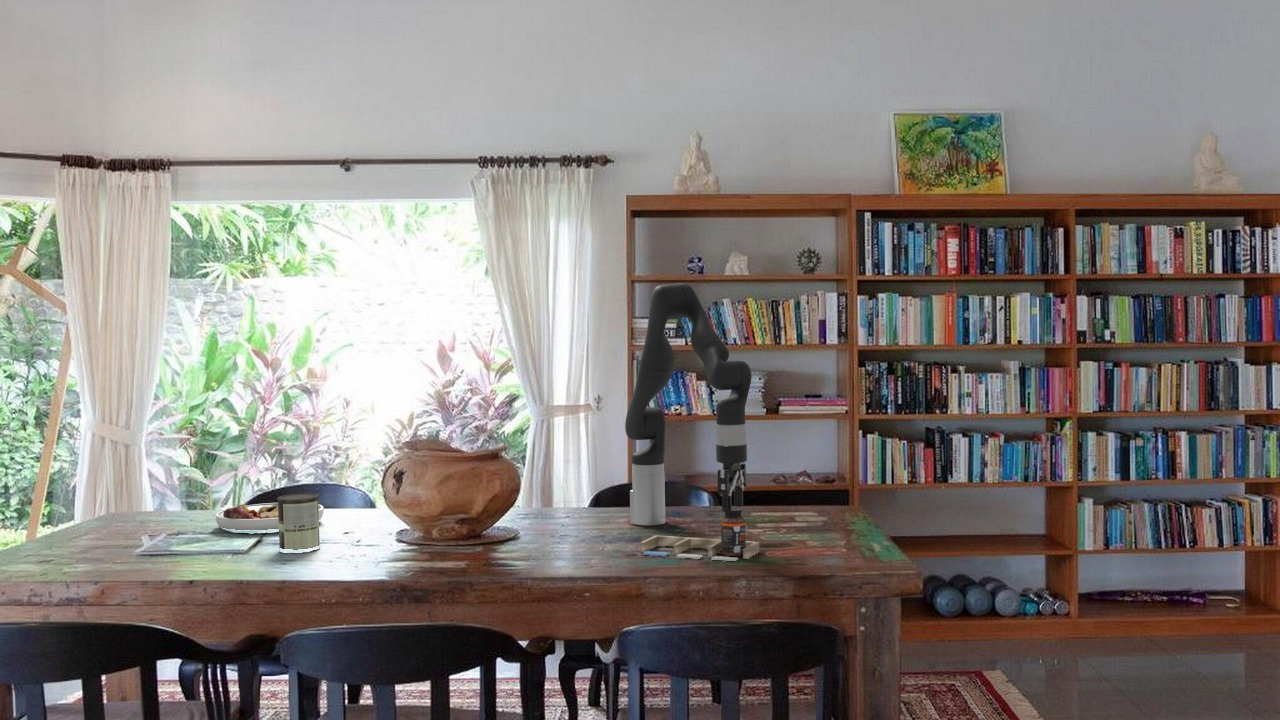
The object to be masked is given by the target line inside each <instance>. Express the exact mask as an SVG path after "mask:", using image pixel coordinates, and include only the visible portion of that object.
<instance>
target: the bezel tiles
mask: <svg viewBox="0 0 1280 720" xmlns="http://www.w3.org/2000/svg"><path fill="white" fill-rule="evenodd" d="M644 555H649V556H648V557H658V556H661V557H662V558H666V557H668V556H669V555H670V553H669V552H665V551H663V552H662V551H651V550H648V551H646V552H644V553H643V552H642V556H644ZM667 555H668V556H667ZM675 556H676V559H685V558H690V560H698V559H700V558H701V559H703V558H704V555H703V554H692V553H680V554H678V555H675ZM661 557H660V558H661ZM702 557H703V558H702ZM691 558H692V559H691ZM701 559H700V560H701ZM710 559H711V561H712V560H726V561H736V560H738V561H739V557H729V556H722V555H720V556H719V555H715V556H714V557H710ZM726 561H725V562H726ZM736 562H737V561H736Z"/></svg>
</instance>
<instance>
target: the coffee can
mask: <svg viewBox="0 0 1280 720" xmlns="http://www.w3.org/2000/svg"><path fill="white" fill-rule="evenodd" d="M319 496H320V495H319V494H318V493H307V492H306V493H302V492H301V493H292V494H285V495H281V496H278V497H277V503H278V517H279V533H278V537H279V538H278V539H279V549H280V548H282V549H293V550H298V549H308V548H313V547H316V546H319V545H320V546H321V543H320V541H321V540H320V521H319V507H318V504H319V498H320V497H319Z"/></svg>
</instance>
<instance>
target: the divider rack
mask: <svg viewBox="0 0 1280 720" xmlns="http://www.w3.org/2000/svg"><path fill="white" fill-rule="evenodd" d="M745 541H746V542H745V543H746V545H745V546H746V548H744V549H743V556H742V560H743V559H748V560H750V559H751V558H753V557H754V556H756V555H757V554H759V553H760V542H759V541H750V540H749V541H748V540H745ZM639 543H640V544H639V546H640V547H639V548H640V552H639V553H643V552H645V551H647V550H648V551H650V550H652V549H655V548H656V546H657V547H665V546H670V548H673V555H674V554H675V555H674V556H676V555H678V554H682V553H684V552H686V551H688V550H689V548H690V549H693V548H706V549H705V550H707V557H708V556H713V555H715V554H717V553H719V552H720V551H721V539H714V538H704V537H703V538H702V537H701V538H700V537H688V536H687V537H685V536H673V535H672V536H671V535H670V536H668V535H653V536H651V537H649V538H647V539H645V540H642V541H641V542H639ZM671 546H672V547H671ZM654 547H655V548H654ZM649 549H650V550H649ZM687 549H688V550H687ZM685 550H686V551H685ZM683 551H684V552H683ZM681 552H682V553H681ZM758 552H759V553H758ZM720 553H721V552H720ZM720 553H719V554H720ZM756 553H757V554H756ZM755 554H756V555H755ZM717 555H718V554H717ZM753 555H754V556H753ZM715 556H716V555H715ZM752 556H753V557H752ZM750 557H751V558H750ZM749 558H750V559H749Z"/></svg>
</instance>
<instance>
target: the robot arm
mask: <svg viewBox="0 0 1280 720" xmlns="http://www.w3.org/2000/svg"><path fill="white" fill-rule="evenodd" d="M649 303H650V304H649V312H648V313H649V314H648V318H647V319H648V320H647V321H648V322H647V329H646V333H645V334H646V335H645V340H644V343H643V350H642V353H641V357H640V360H639V366H638V370H637V371H638V372H637V376H636V382H635V387H634V391H633V395H632V397H631V400H630V403H629V406H628V408H627V409H628V410H627V413H626V416H625V423H624V424H625V425H624V426H625V427H624V430H625V434H626V436H627V438H629V439H630V440H632V441H646V440H647V441H648V440H649V442H648V444H647V445H646V446H644V448H642V449H640V450H637V451H635V452H633V454H632V456H631V471H632V472H631V473H632V475H631V476H632V489H631V490H630V491H629V511H630V513H629V516H630V517H629V518H630V524H632V525H636V526H646V527H647V526H658V525H659V526H660V525H665V523H666V495H665V494H666V491H665V489H666V488H665V487H666V486H665V484H666V483H665V452H666V451H665V450H666V448H665V447H666V445H665V444H666V443H665V442H666V416H665V412H664V411H663V409H662V408H661V407H658V406H649V404H650V402H651V401H652V400H653V399H654V398H655V397H656V396H657V395H658V394H659V393H660V392H661V391H662V390H663V389H664V388H665V387H666V386H667V384H668V383H669V382H670V380H671V378H672V374H673V371H674V366H675V361H676V356H675V352H674V349H673V347H672V345H671V343H670V342H669V339H668V338H667V336H666V327H667V326H666V325H667V322H668V320H676V319H683V318H686V319H688V320H689V321H690V323H691V325H692V326H691V333H690V343H691V347H692V349H693V351H694V352H695V354H696V355H697V357H699V359H700V361H701V362H702V364H703V366H704V370H705V372H706V373H705V374H706V377H707V381H708V383H709V384H710V386H711V387H712V388H713V389H715V390H718V391H729V390H730V393H729V396H728V397H726V398H724V399H722V400H720V401H717V404H716V407H715V409H716V410H715V412H716V414H715V415H716V430H715V454H716V455H715V458H716V459H715V460H716V462H717V463H719V464H722V469H718V470H717V495H720V497H721V510H722V512H723V513H725V512H730V511H731V510H732V508H733V507H732V493H733V505H734V507H742V506H743V505H744V490H745V488H747V467H746V465H747V464H746V462H747V461H748V445H747V444H748V443H747V441H748V440H747V439H748V438H747V437H748V435H747V434H748V433H747V429H746V428H747V427H746V405H747V402H748V401H747V400H748V396H749V391H750V388H751V385H752V384H751V383H752V371H751V368H750V366H749V364H748V363H747V362H746V361H743V360H729V358H730V352H729V350H728V348H727V345H725V343H724V342H723V341H722V339H721V338H720V337H719V336H718V334H717V332H716V331H715V330H714V329H713V328H714V327H713V326H712V325H711V323H710V320H709V319H708V316H707V313H706V312H705V310H704V308H703V305H702V304H701V303H702V302H700V300H699V297H698V295H697V294H696V291H695V290H694V288H693V287H692V286H691V285H689V284H687V283H684V282H682V283H681V282H679V283H668V284H661V285H658V286H656V287H654V289H653V291H652V293H651V296H650V302H649Z"/></svg>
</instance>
